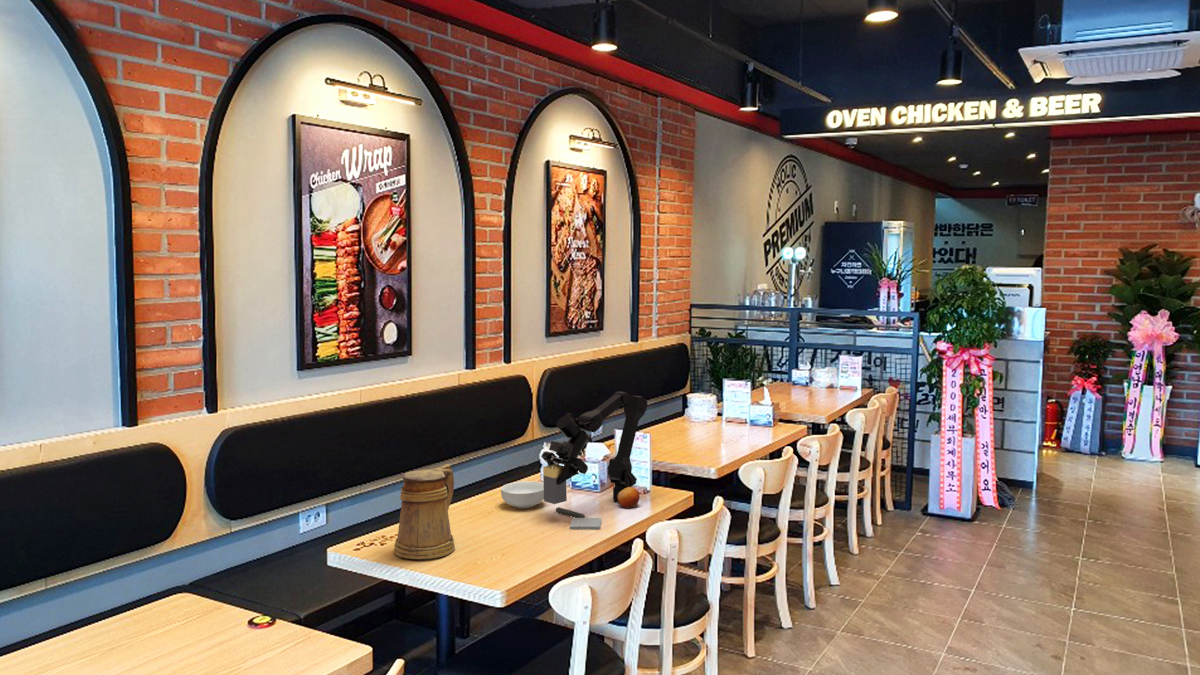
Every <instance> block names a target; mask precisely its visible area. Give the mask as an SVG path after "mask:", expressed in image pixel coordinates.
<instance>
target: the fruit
mask: <svg viewBox="0 0 1200 675" xmlns="http://www.w3.org/2000/svg"><path fill="white" fill-rule="evenodd" d="M617 499H618V501H619V502H618V503H619V505H620V506H622V507H623V508H625V509H630V508H637V504H638V503H639V501H640V493H639V491H638V490H637V488H636V487H633V486H632V487H627V488H625V489H623V490H622V491H620V492H619V494H618V496H617ZM638 505H639V504H638Z"/></svg>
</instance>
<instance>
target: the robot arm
mask: <svg viewBox="0 0 1200 675" xmlns="http://www.w3.org/2000/svg"><path fill="white" fill-rule="evenodd" d="M621 407H623V413H624V416H625V419H624V422H623V423H624V424H623V428H622V431H621V435H620V439H619V444H618V448H617V453H616V456H615V457H614V458H610V459H609V461H608V466H607V469H606V470H607V475H608V477H609V480H610V481H609V482H610V483H611V484H614V486H613V488H612V495H613V497H612V499H613V500H614V501H613V502H615V503H619V501H618V499H617V496H618V494H619V492H620V491H622V490H623V489H625V488H627V487H633V486H635V485H636V484H637V481H638V479H637V477H636V476H635V475H634V474H633V473H632V472H633V471H632V469H633V466H632V461H631V454H632V451H633V446H634V442H635V438H636V433H637V430H638V429H637V428H638V426H639V425H638V424H639V421H640V420H641V419H642V418H643V416H645V413H646V411H647V409H648V408H647V407H648V401H647V399H646V397H644V396H640V395H633V394H629V393H628V392H626V391H625V392H624V391H615V392H614V394H613V395H612V396H610V398H608V399H607V400H605V401H604V402H603V403H601V404H600V405H599V406H598V407H596V408H595V409H593V410H590V411H586V412H584V413H582V414H581V415H580V416H578V417H577V418H575V417H574V416H575V415H574V414H573V413H570V412H567V413H566V414H565V415H563V416H561V417H560V418H559V419H558V420H557V421H556V428H558V430H559V431H560V432H561V433H562V434H563V435H564V436H565V437H566V438H568V440H567V441H563V442H562V443H561V442H558V441H553V440H551V441H550V444H549V447H548V450H549V451H543V453H542V454H541V456H540V457H541V458H542V460H544V462H545V463H546V464H547V466H549V465H553V464H557V465H562V466H564V470H563V472H562V473H561V475H560V477H559V479H558V481H557V484H558V485H560V484H561V483H563V482H564V481H566V482H567V481H568V480H569V479H572V477H575V476H576V475H579V474H583V475H586V473H587V472H588V470H589V468H588V465H587V464H586V462H585V461H584V460H583V459H582V458H579V456H583V452H582V450H583V448H584V447H585V446H586V444H587V443H593V438H592V435H591V434H588V432H589V433H596V432H597V431H598V430H599V429H600V428H601V427H602V426H603V423H604V421H605V420H606V418H608V417H610V415H611V414H613V413H614V412H615V411H617V410H618V409H619V408H621ZM551 451H553V452H551ZM554 452H555V453H554Z"/></svg>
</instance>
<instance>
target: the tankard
mask: <svg viewBox="0 0 1200 675" xmlns="http://www.w3.org/2000/svg"><path fill="white" fill-rule="evenodd" d="M454 478H455V476H454V472H453V469H452V468H451V464H450V463H446V464H443V465H440V467H434V468H427V469H417V470H413V471H407V472H405V473H404V474H403V476H402V480H403V486H402V487H401V488H400V498H399V499H400V500H401V504H400V515H399V520H398V521H399V523H398V531H397V537H396V538H395V540H394V542H395V543H394V546H393V547H394V549H393V554H395V555H396V556H398V557H400V558H403V559H411V560H429V559H430V560H431V559H437V558H441V557H445V556H447V555H450V554H452V552H453V551H455V549H456V545H455V539H454V536H453V534H452V531H451V524H450V517H449V516H450V515H449V508H450V506H451V502H452V498H453V495H454V489H455V485H454V484H455V479H454Z"/></svg>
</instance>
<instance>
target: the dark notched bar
mask: <svg viewBox="0 0 1200 675" xmlns="http://www.w3.org/2000/svg"><path fill="white" fill-rule="evenodd" d="M555 512H556V513H557V512H558V513H557V514H560V513H562V514H561V515H564V514H565V515H564V516H567V515H568V516H567V517H570V516H572V517H571V518H574V517H575V518H586V515H585V514H583V513H580V512H578V511H573V510H570V509H566V508H563V507H559V506H558V507H556V509H555Z"/></svg>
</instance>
